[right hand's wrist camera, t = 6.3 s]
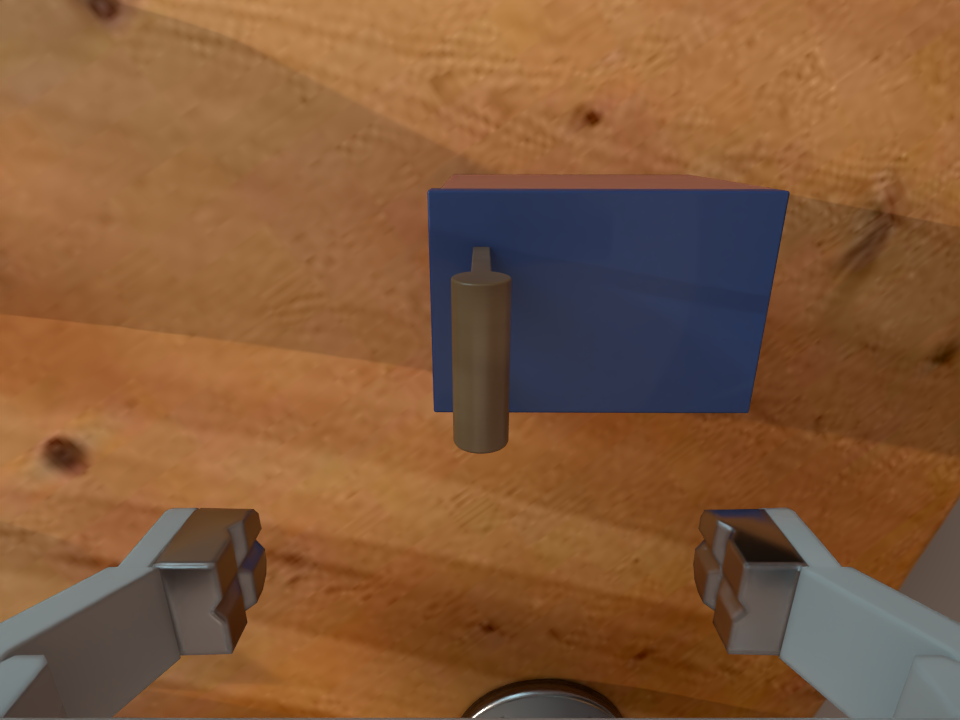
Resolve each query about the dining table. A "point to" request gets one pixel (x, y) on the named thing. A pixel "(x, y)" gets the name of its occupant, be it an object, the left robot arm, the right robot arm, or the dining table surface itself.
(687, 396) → the lid
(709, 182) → the chest
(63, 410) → the dining table surface
